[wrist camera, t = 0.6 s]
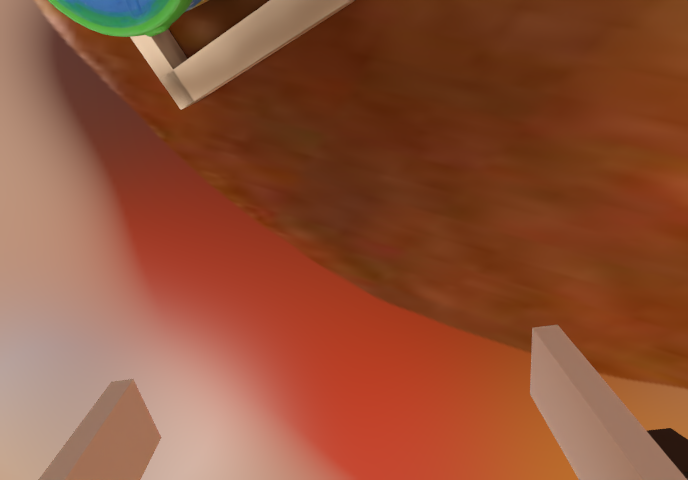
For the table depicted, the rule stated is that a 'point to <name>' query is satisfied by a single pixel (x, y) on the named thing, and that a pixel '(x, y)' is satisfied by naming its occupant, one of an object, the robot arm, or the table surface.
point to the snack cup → (126, 15)
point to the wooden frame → (231, 47)
